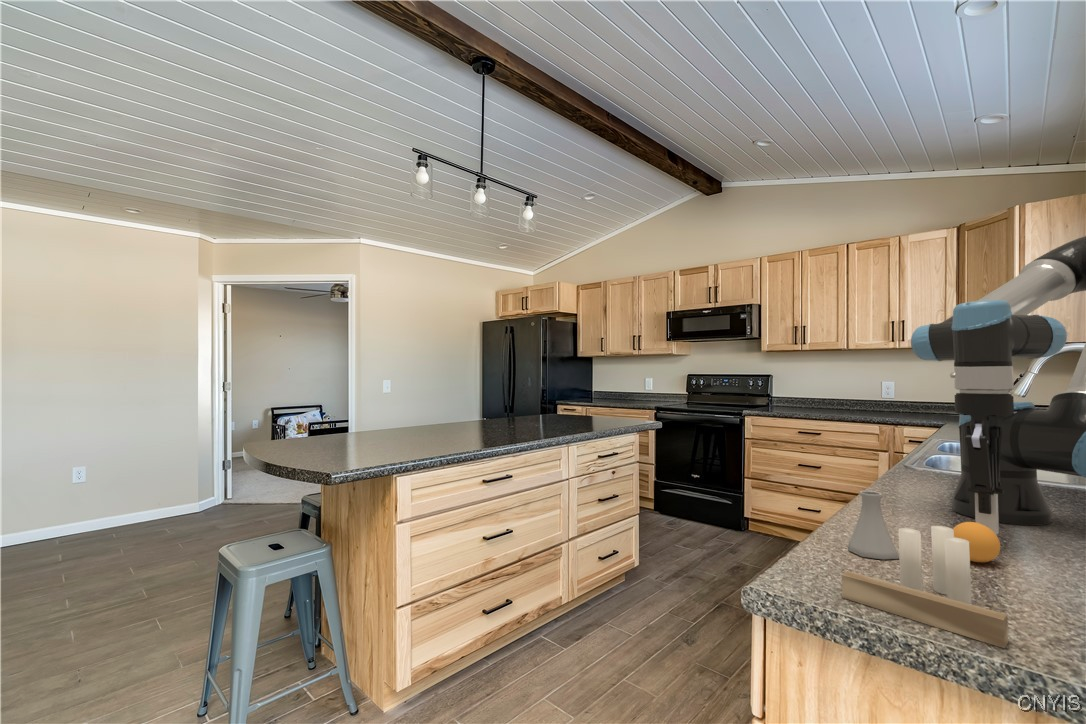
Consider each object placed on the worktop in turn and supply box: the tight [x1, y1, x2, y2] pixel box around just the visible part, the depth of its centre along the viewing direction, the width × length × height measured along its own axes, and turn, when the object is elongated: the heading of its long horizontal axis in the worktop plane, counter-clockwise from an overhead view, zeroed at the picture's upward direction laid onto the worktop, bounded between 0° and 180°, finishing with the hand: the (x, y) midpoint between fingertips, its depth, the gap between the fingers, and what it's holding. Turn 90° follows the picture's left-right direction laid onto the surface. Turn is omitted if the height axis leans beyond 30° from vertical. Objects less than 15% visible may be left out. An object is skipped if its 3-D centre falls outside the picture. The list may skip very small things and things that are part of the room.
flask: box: [847, 490, 900, 560], centre depth 82 cm, size 7×7×10 cm
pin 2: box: [945, 537, 972, 605], centre depth 63 cm, size 2×2×8 cm
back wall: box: [841, 570, 1009, 649], centre depth 60 cm, size 2×16×3 cm, turn 38°
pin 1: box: [898, 527, 924, 592], centre depth 67 cm, size 2×2×8 cm
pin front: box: [930, 525, 954, 596], centre depth 68 cm, size 2×2×8 cm
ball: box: [952, 521, 1001, 563], centre depth 78 cm, size 6×6×6 cm
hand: (987, 531), depth 84 cm, fingers closed
